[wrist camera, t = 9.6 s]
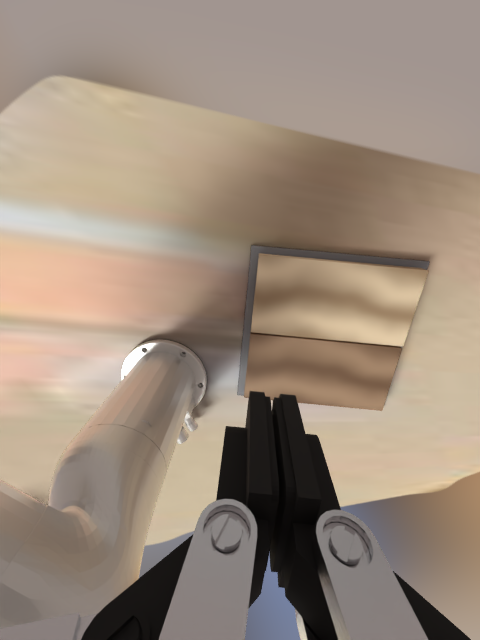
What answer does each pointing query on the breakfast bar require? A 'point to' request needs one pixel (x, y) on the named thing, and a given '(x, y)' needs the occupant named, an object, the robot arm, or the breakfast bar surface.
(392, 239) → the breakfast bar surface
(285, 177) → the breakfast bar surface
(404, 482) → the breakfast bar surface
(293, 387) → the walnut board
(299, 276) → the ash plank
